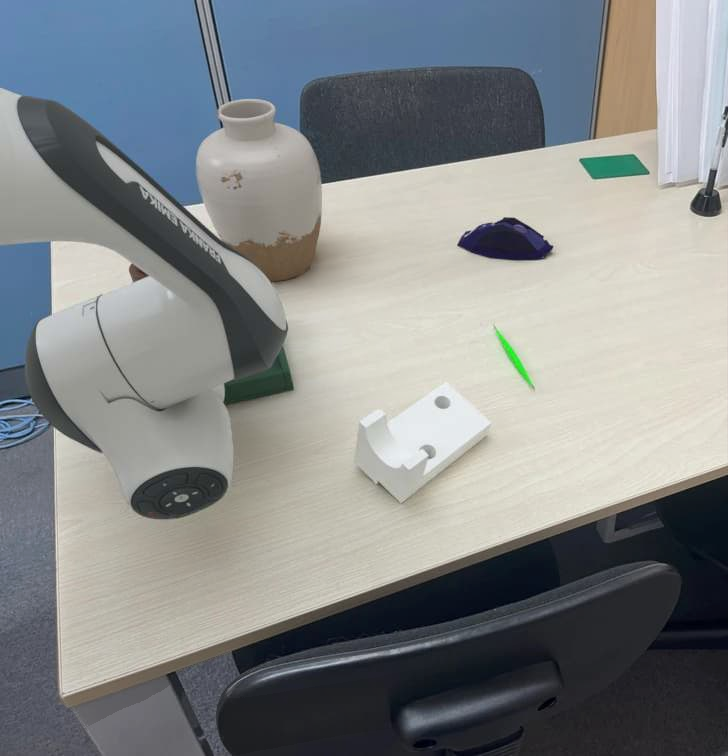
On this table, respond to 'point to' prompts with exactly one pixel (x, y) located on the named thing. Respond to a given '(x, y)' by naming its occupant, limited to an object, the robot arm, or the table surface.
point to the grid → (261, 382)
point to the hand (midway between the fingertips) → (163, 293)
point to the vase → (262, 188)
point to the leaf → (513, 356)
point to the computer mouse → (506, 241)
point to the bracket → (418, 440)
